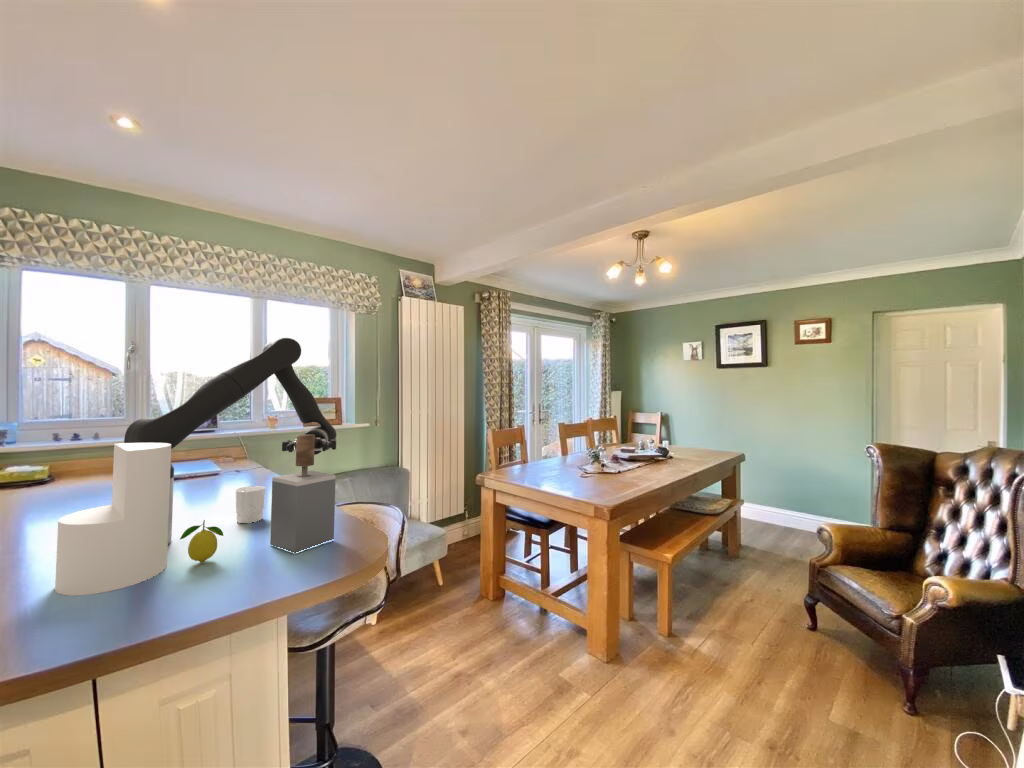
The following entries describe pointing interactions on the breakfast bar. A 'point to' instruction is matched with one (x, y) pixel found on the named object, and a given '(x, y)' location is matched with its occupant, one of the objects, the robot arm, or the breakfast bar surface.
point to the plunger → (305, 452)
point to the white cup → (250, 504)
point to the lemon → (202, 542)
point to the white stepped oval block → (119, 526)
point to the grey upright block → (302, 510)
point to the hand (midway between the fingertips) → (307, 448)
